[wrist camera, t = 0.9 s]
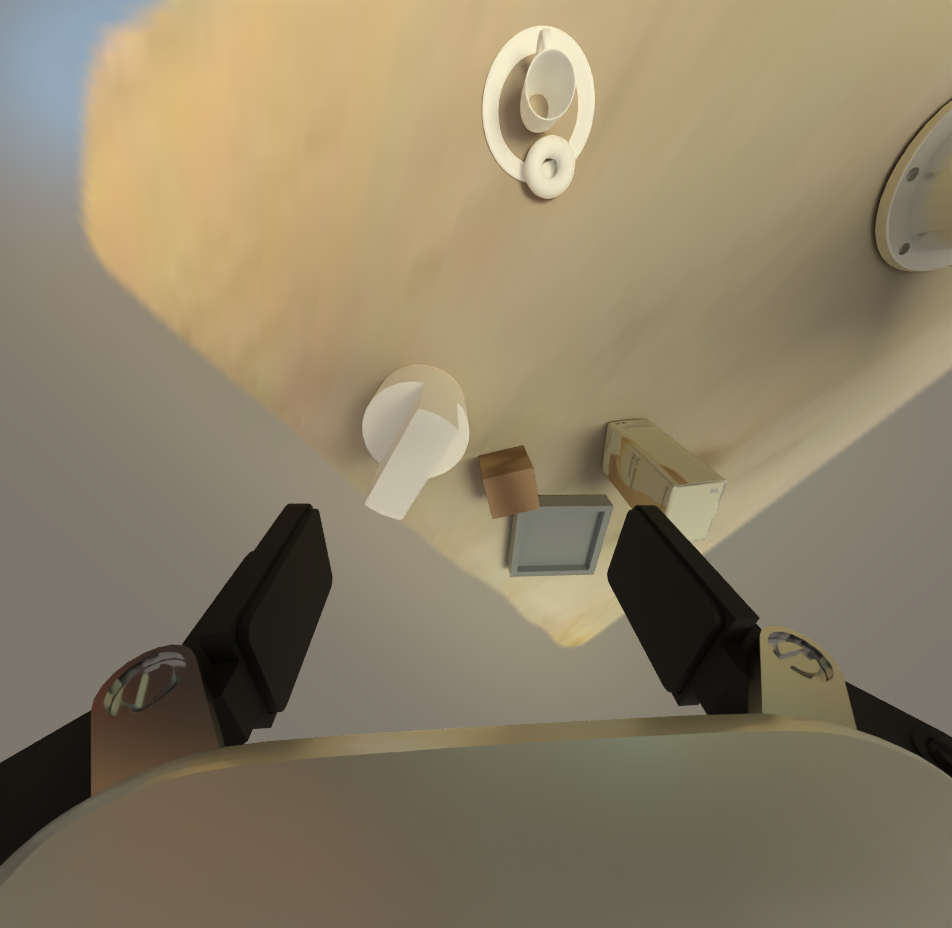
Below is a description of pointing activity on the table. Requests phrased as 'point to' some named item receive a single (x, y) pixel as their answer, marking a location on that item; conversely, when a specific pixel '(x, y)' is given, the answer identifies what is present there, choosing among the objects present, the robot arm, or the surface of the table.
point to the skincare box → (662, 476)
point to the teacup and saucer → (556, 81)
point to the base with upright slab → (413, 434)
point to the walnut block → (509, 482)
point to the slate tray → (559, 536)
